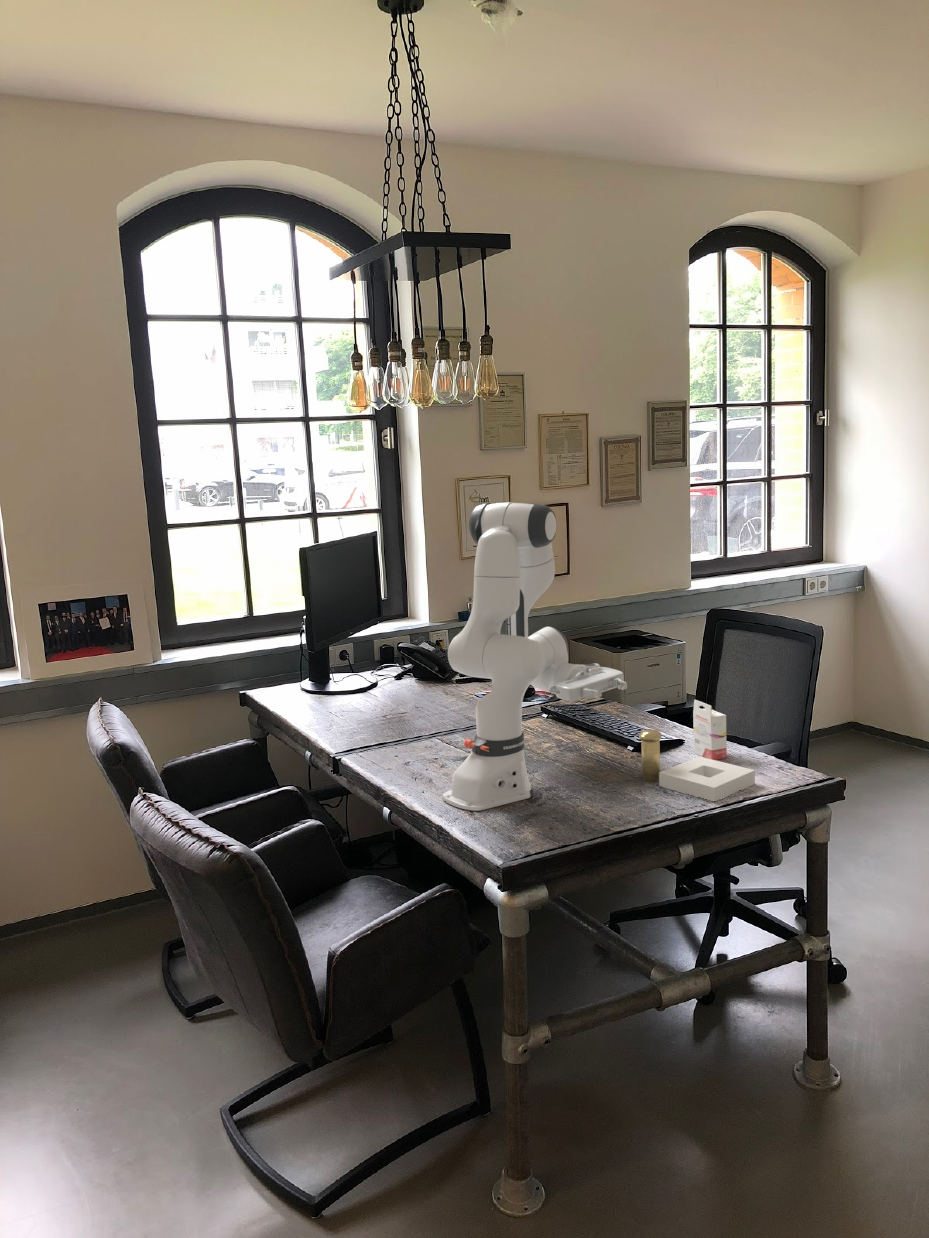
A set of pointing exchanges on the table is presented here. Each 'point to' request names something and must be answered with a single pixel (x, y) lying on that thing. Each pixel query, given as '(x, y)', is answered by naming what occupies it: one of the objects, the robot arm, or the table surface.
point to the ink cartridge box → (709, 732)
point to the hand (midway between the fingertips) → (612, 690)
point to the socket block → (707, 778)
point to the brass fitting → (650, 754)
